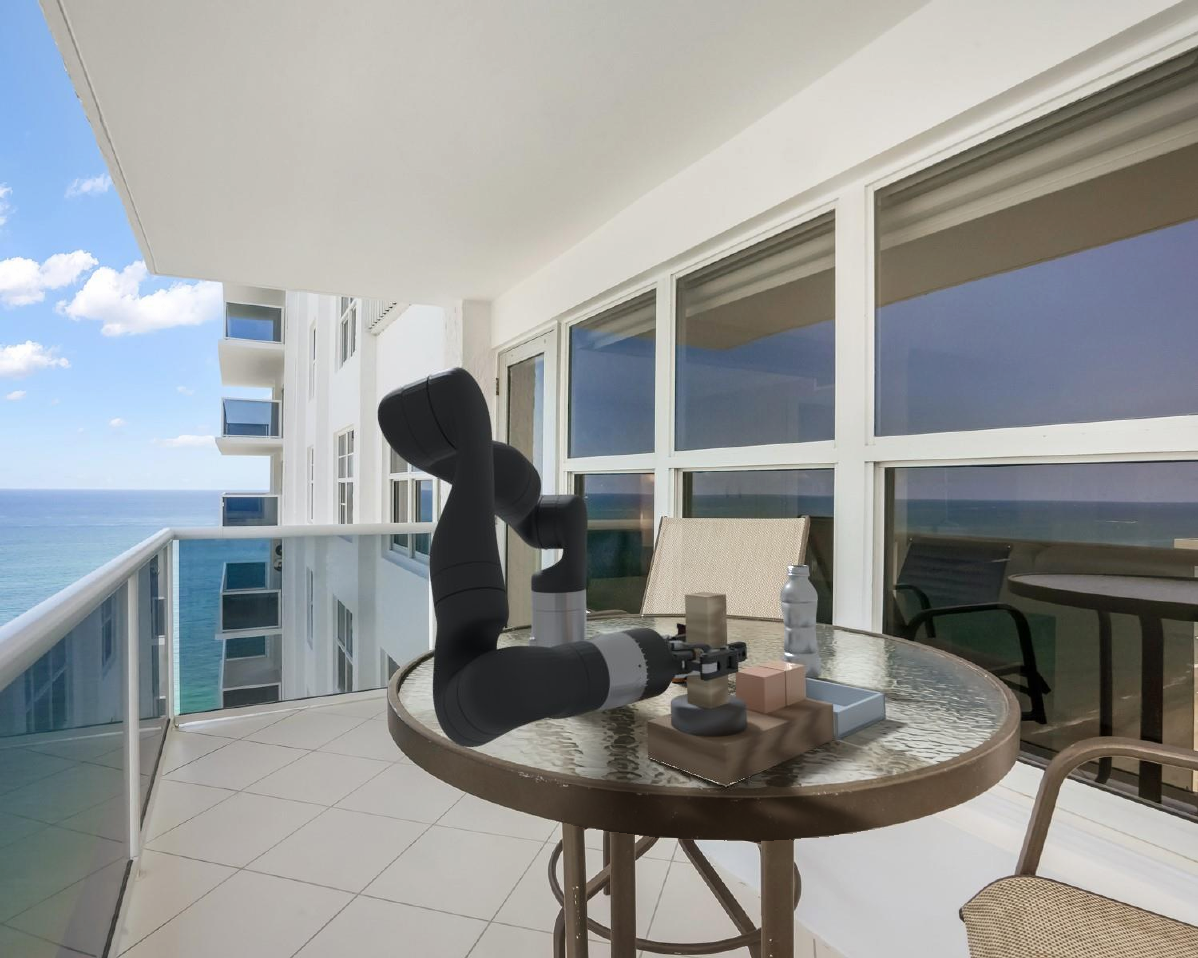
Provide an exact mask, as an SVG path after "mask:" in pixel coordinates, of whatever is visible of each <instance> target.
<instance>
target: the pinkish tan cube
mask: <svg viewBox="0 0 1198 958" xmlns="http://www.w3.org/2000/svg"><path fill="white" fill-rule="evenodd" d="M738 670H739V672H736V673H734V675H735V677H734V678H735V694H736V697H738V698H740V699H742V700H744V701H745V702H746V707H747V709H749V710H753V711H757V712H761V713H765V714H766V713H768V712H771V711H774V710H777V709H780V708H782V707H785V706H786V702H785V671H780V670H775V669H770V668H765V667H760V666H757V665H753V666H750V667H746V668H743V669H738Z"/></svg>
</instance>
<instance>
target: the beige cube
mask: <svg viewBox="0 0 1198 958" xmlns="http://www.w3.org/2000/svg"><path fill="white" fill-rule="evenodd" d="M756 666H760V667H765V668H770V669H775V670H780V671H785V702H786V706H788V705H791V704H794V703H797V702H799V701H802V700H805V699H806V684H805V665H800V664H795V663H789V662H784V661H782V660H778V659H776V660H773V661H768V662H765V663H760V664H757V665H756Z"/></svg>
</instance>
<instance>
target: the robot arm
mask: <svg viewBox="0 0 1198 958" xmlns="http://www.w3.org/2000/svg"><path fill="white" fill-rule="evenodd" d="M490 415H491V414H490V411H489V406H488V402H487V400H486V398H485V396H484V393H483V391H482V388H481V387H480V385H479V384H478V382H477V381H476V379H475V378H474V376H473V375H472V374H471V373H470V372H469V371H467V370H466V369H465V368H463V367H458V366H452V367H449V368H446V369H442V370H439V371H436V372H433V373H432V374H431V373H430V374H429V375H425V376H424V377H421V378H418V379H416V380H414V381H411V382H409V383H406V384H404V385H401V386H399V387H397V388H395V389H393V390H392V391H390V392H388V393H387V394H386V395H384V396H383V397H382V399H381V401H380V403H378V407H377V421H378V425H379V428H380V430H381V432H382V435H383V437H384V438H385V440H386V442H387V443H388V445H389V446H390V447H391V449H392V450H393V451H394V452H395V453H396V454H397V455H398V456H399V457H400V458H401V459H402V460H404V461H405V462H407V463H408V464H409V465H411V466H412V467H414V468H416V469H418V470H421V471H422V472H423V473H426V474H428V475H431V476H433V477H435V478H437V479H440V480H441V481H444V482H446V483H448V484H449V485H451V488H450V491H449V493H448V497H447V499H446V502H445V504H444V507H443V509H442V511H441V514H440V517H439V519H438V522H437V525H436V527H435V529H434V532H433V535H432V539H431V544H430V547H429V548H430V549H429V556H428V557H429V558H428V559H429V560H428V565H429V566H428V567H429V568H428V569H429V571H428V572H429V578H430V579H429V580H430V581H429V582H430V585H431V587H430V588H431V594H432V601H433V602H432V603H433V611H434V614H435V621H436V635H435V641H434V642H435V643H434V649H433V651H434V652H433V653H434V654H433V672H432V701H433V707H434V712H435V713H434V714H435V716H436V720H437V721H438V724H439V726H440V728H441V730H442V731H443V733H444V734H445V735H446V737H447V738H448V739H449V741H452V742H453V743H455V744H456V745H458V746H461V747H463V748H464V747H465V748H477V747H481V746H484V745H486V744H489V743H490V742H492V741H494V740H496V739H498V738H500V737H502V736H504V735H505V734H508V733H509V732H512V731H513V730H515V729H518V728H520V727H524V726H526V725H530V724H531V723H534V722H538V721H541V720H545V719H547V718H548V719H552V720H563V719H569V718H573V717H577V716H581V715H583V714H588V713H591V712H595V711H602V710H612V709H616V708H619V707H623V706H627V705H631V704H634V703H638V702H642V701H645V700H648V699H651V698H656V697H659V696H661V695H663V694H664V693H665V692H666V691H667V690H668V688H669V687H670V685H671V683H672V680H673V678H684V677H686V676H687V675H700V679H701V680H704V681H708V680H712V679H715V678H719V677H722V676H726V675H728V676H729V675H733V674H735V673H736V672H739V670H740V669H739V663H742V662H743V663H744V662H745V661H746V660H747V659H748V647H747V643H746V642H745V641H736V642H731V643H727V644H726V645H717V646H709V645H708V644H707V643H705V642H686V634H682V635H677V636H675V635H670V634H665V635H664V634H663V635H661V634H660V633H659V632H658V631H656V630H654V629H652V628H649V627H638V628H634V629H633V628H631V629H627V630H621V631H616V632H615V631H614V632H609V633H605V634H599V635H595V636H592V637H590V638H587V637H588V636H587V634H588V633H587V629H588V627H587V584H586V583H587V565H588V564H587V552H588V551H587V549H588V547H587V546H588V527H589V525H588V522H589V521H588V509H587V504H586V502H585V500H584V499H583V497H582V496H581V495H579V494H541V493H542V480H541V477H540V474H539V472H538V470H537V469H536V467H535V466H534V465H533V463H532V462H531V461H530V460H529V459H528V458H527V457H526V456H525V455H524V454H523V453H522V452H521V451H520V450H518V449H517V448H516V447H514V446H513V445H511V444H508V443H505V442H502V441H498V440H494V439H493V429H492V427H493V426H492V421H491V416H490ZM496 517H498V518H499V519H500V520H501V521H503V522H504V523H505V524H506V525H508V526H509V527H510V528H511V529H512V530H513V532H515V533H516V534H517V535H518V537H519V538H520V539H521V540H522V541H523V542H524V543H525V544H526V545H528V546H529V547H531V548H533V549H536V550H537V549H538V550H562V555H561V557H560V559H559V560H558V561H557V562H555V564H552V565H551V566H549V567H546V568H544V569H540V570H539V571H535V572H534V573H533V574H532V575H531V580H530V591H531V593H530V594H531V595H530V598H531V599H530V601H531V602H530V604H531V637H530V638H529V639H528V641H529V642H528V644H529V645H513V646H511V645H510V646H506V647H505V646H504V647H500V648H498V640H499V637H500V635H501V633H502V631H503V630H504V629H505V627H506V625H507V623H508V621H509V617H510V607H509V600H508V595H507V588H506V583H505V578H504V573H503V567H502V562H501V557H500V551H499V545H498V544H499V543H498V537H497V527H496ZM694 649H700V650H701V655H700V660H696V652H695V650H694ZM711 652H712V653H711Z"/></svg>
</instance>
